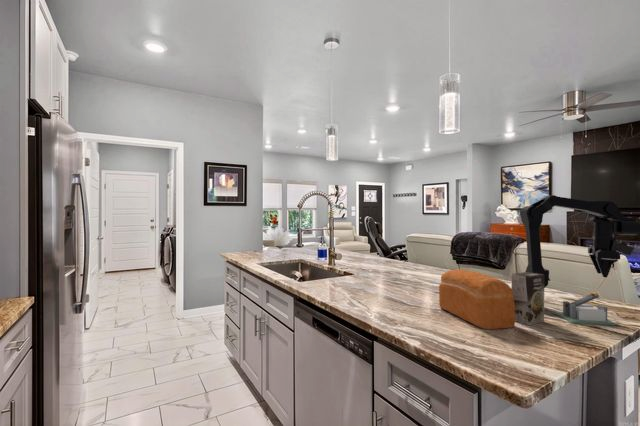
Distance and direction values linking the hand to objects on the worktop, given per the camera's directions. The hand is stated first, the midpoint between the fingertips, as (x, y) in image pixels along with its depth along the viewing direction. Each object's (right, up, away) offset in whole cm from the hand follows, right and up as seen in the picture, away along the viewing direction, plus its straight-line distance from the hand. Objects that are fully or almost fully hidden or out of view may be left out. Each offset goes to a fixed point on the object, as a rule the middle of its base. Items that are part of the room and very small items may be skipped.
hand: (602, 275), depth 124 cm
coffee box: (-36, -14, -12) cm, 40 cm away
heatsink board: (-15, -13, -10) cm, 23 cm away
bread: (-52, -14, -7) cm, 54 cm away
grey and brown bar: (-16, -8, -10) cm, 20 cm away
